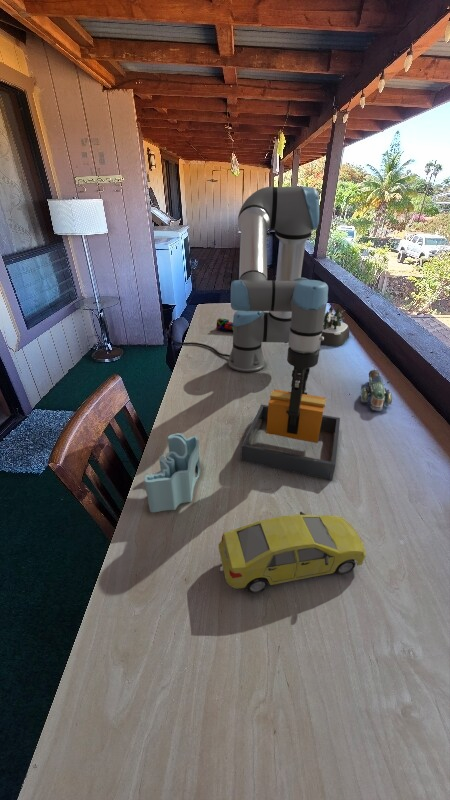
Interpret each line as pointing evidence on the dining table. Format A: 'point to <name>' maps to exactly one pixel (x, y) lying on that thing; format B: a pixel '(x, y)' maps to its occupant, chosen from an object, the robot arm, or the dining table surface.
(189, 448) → the squiggly pen holder
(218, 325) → the sculpture
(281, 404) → the orange striped block
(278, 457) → the rectangular frame
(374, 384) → the hoverbike
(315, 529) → the toy car
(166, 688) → the dining table surface
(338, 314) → the miniature diorama
